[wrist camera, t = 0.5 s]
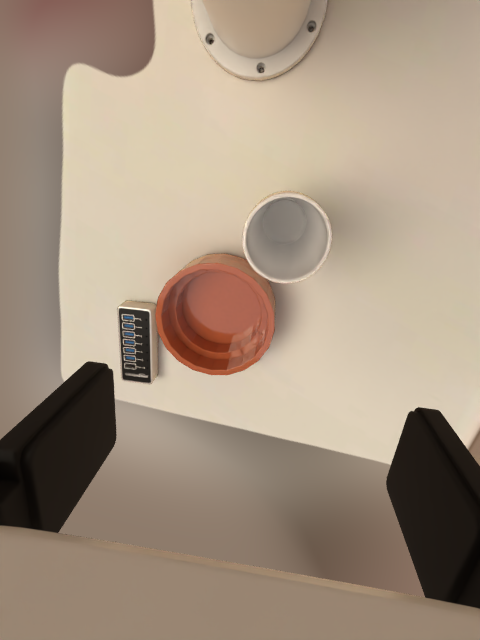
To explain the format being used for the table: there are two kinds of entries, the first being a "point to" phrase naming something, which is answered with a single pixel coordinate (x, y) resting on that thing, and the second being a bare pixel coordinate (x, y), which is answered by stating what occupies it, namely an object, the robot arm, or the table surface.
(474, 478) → the robot arm
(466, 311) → the table surface
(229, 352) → the bowl
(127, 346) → the multiport hub
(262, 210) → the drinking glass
